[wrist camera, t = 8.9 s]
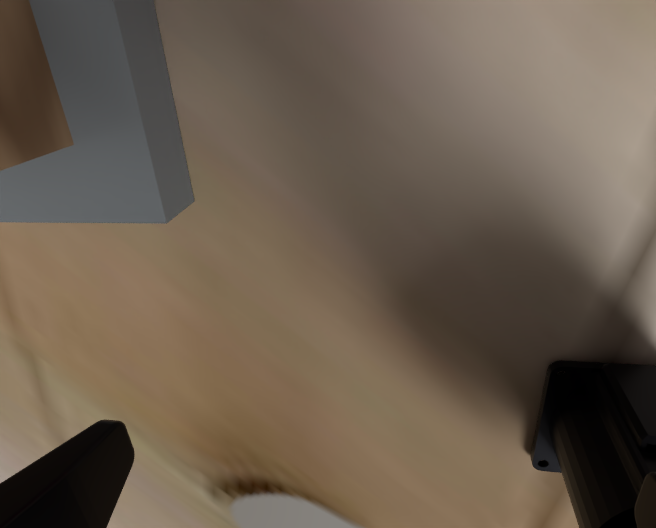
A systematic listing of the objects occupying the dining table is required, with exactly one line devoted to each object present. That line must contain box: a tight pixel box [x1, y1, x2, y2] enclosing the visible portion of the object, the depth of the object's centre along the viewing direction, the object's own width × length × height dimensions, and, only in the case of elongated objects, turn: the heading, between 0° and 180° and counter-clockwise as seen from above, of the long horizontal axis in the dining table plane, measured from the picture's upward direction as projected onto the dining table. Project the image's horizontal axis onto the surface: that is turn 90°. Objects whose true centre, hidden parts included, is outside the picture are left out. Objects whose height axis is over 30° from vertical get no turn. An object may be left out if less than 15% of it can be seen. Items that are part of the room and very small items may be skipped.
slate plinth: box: [0, 0, 194, 223], centre depth 17 cm, size 11×11×2 cm
